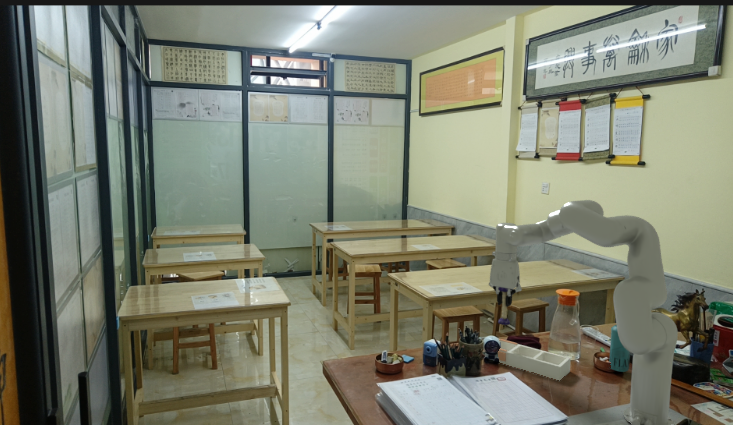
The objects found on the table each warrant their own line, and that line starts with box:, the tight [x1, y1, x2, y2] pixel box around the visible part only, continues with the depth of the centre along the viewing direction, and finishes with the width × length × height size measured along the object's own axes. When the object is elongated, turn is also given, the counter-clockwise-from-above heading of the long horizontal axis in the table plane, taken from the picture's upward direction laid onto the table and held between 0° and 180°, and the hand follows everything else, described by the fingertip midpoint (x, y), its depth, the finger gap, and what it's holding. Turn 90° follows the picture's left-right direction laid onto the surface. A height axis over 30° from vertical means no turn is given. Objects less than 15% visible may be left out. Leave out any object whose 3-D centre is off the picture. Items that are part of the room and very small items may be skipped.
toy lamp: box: [497, 287, 511, 326], centre depth 177 cm, size 5×5×17 cm
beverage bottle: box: [608, 317, 631, 373], centre depth 167 cm, size 6×7×20 cm
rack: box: [498, 338, 572, 382], centre depth 173 cm, size 11×28×5 cm, turn 48°
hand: (504, 304), depth 178 cm, fingers closed on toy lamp, 2 cm apart
